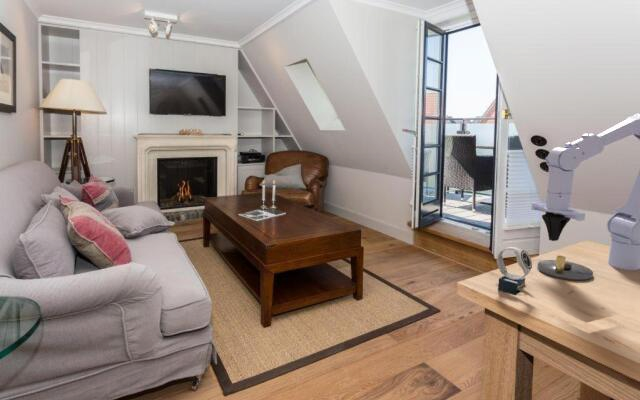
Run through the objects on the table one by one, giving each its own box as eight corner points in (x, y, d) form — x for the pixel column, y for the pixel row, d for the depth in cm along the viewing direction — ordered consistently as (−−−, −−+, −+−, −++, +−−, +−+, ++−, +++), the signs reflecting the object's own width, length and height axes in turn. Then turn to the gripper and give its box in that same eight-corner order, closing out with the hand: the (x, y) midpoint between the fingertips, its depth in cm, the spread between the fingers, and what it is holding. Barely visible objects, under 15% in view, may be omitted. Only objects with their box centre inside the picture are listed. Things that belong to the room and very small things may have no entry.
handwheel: (545, 260, 120) (547, 242, 119) (597, 271, 112) (600, 252, 110) (530, 271, 111) (532, 252, 110) (585, 285, 102) (588, 264, 101)
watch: (523, 297, 99) (528, 254, 97) (490, 288, 104) (494, 246, 102) (532, 291, 103) (537, 249, 100) (500, 282, 108) (503, 242, 106)
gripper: (525, 188, 116) (521, 234, 119) (574, 198, 103) (568, 249, 106) (543, 187, 119) (538, 232, 121) (592, 195, 106) (586, 246, 108)
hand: (553, 240), depth 114 cm, fingers closed
